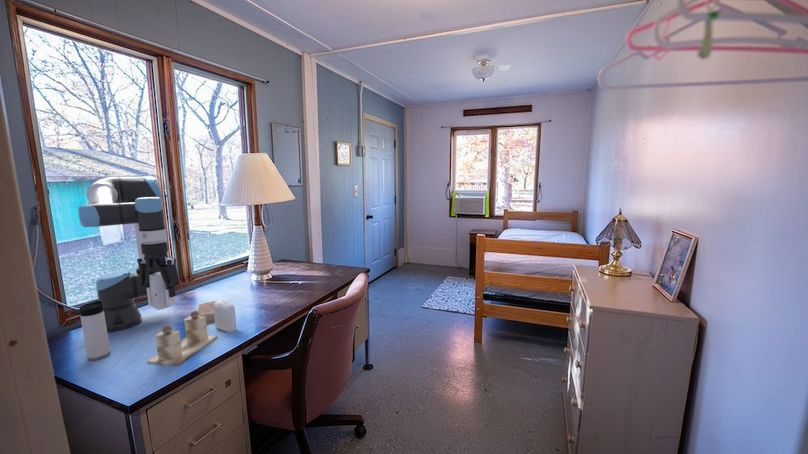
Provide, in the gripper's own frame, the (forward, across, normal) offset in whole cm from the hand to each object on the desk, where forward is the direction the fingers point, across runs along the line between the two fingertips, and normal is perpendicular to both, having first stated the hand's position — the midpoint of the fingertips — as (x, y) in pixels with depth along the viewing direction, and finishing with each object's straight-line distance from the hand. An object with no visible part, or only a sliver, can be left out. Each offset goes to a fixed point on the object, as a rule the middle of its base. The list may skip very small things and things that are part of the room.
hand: (162, 304), depth 121 cm
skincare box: (+1, 0, 0) cm, 1 cm away
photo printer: (+19, +6, +22) cm, 30 cm away
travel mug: (+19, -25, -5) cm, 32 cm away
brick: (+20, -11, +32) cm, 40 cm away
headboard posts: (+19, +3, +4) cm, 20 cm away
